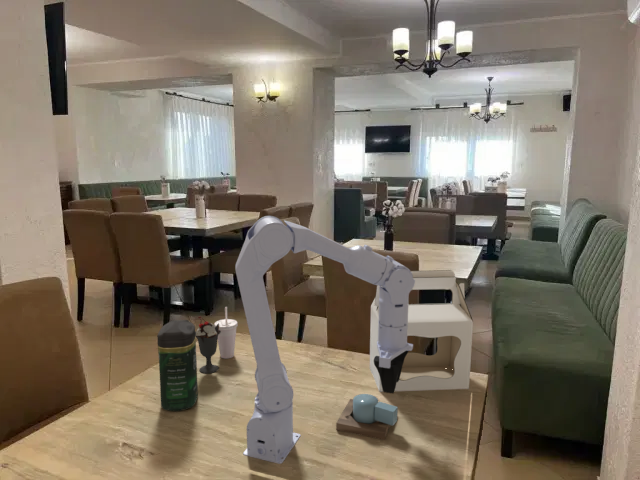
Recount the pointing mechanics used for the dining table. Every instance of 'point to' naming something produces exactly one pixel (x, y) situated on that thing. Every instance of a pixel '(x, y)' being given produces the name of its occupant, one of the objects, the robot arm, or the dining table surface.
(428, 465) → the dining table surface
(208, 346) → the sundae
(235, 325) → the smoothie
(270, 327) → the robot arm
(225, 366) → the dining table surface
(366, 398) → the light blue piece
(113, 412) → the dining table surface
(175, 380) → the coffee jar
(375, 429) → the holder
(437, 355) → the gable box
